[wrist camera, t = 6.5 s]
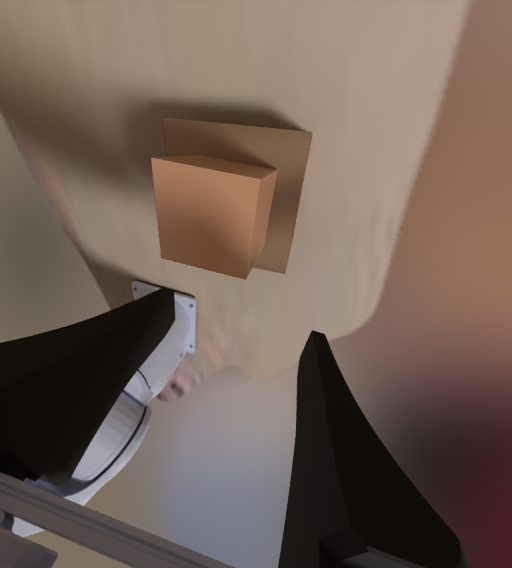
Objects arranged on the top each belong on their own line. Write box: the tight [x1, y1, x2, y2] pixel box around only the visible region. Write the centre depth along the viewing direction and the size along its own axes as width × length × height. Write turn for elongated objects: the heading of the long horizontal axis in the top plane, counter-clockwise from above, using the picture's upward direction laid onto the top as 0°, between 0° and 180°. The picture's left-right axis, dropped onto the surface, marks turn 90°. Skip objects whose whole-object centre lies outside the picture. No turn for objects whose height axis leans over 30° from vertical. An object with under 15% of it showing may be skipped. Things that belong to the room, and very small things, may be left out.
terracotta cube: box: [151, 155, 278, 280], centre depth 13 cm, size 5×5×5 cm
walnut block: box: [162, 117, 312, 274], centre depth 17 cm, size 9×9×4 cm
